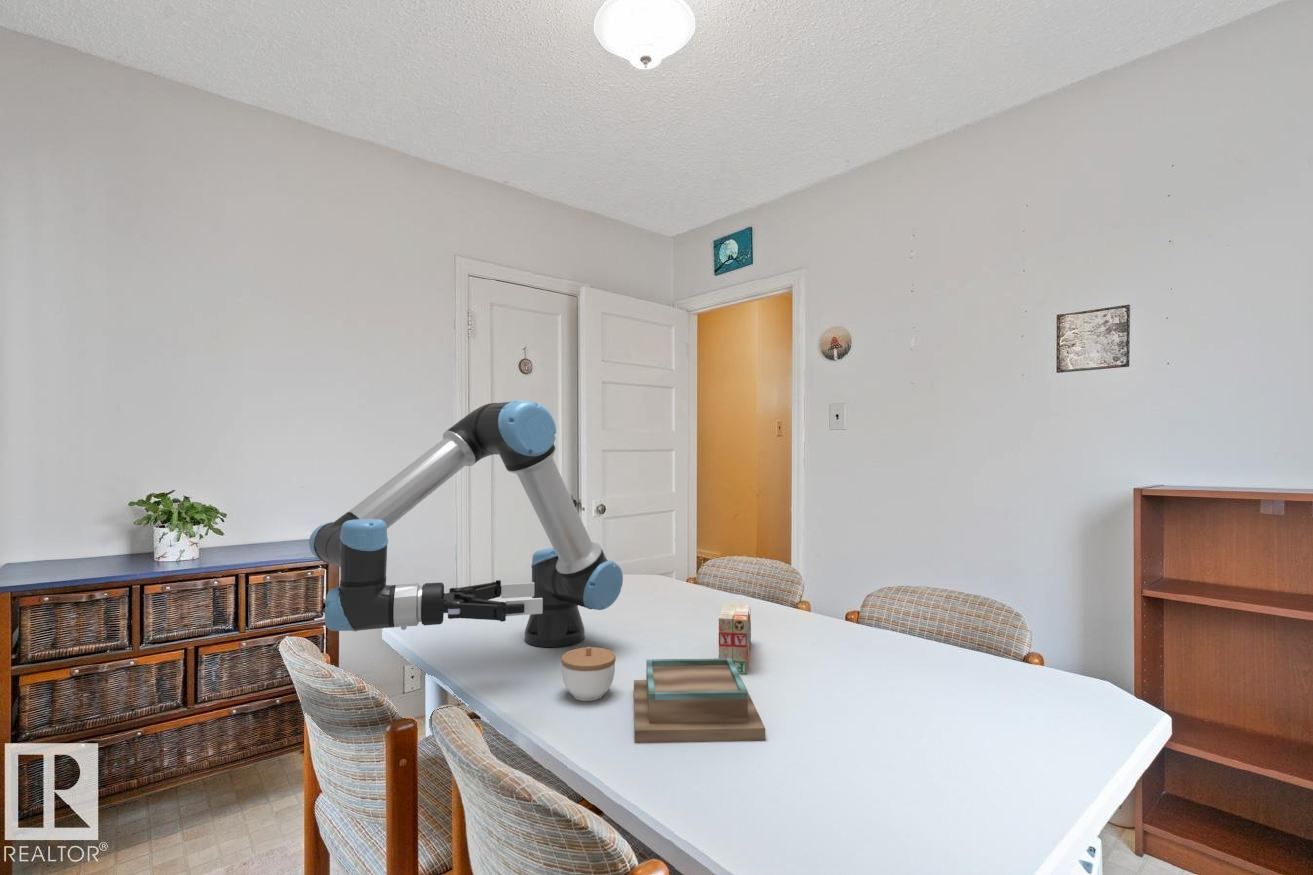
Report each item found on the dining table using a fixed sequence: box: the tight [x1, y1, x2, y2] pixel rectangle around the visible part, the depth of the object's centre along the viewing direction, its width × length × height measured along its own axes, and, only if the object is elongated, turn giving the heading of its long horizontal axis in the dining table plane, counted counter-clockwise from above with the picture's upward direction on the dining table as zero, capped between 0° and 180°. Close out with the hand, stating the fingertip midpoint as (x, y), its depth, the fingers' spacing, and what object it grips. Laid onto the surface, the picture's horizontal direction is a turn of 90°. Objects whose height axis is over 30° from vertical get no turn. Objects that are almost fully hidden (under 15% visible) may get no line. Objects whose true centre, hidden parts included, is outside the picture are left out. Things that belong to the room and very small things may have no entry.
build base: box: [633, 658, 766, 744], centre depth 114 cm, size 22×22×7 cm
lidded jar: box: [560, 646, 617, 702], centre depth 122 cm, size 11×11×9 cm
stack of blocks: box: [718, 603, 752, 676], centre depth 144 cm, size 21×6×12 cm, turn 169°
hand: (538, 596), depth 119 cm, fingers open, 13 cm apart
